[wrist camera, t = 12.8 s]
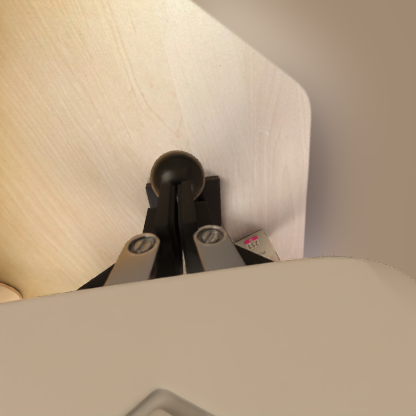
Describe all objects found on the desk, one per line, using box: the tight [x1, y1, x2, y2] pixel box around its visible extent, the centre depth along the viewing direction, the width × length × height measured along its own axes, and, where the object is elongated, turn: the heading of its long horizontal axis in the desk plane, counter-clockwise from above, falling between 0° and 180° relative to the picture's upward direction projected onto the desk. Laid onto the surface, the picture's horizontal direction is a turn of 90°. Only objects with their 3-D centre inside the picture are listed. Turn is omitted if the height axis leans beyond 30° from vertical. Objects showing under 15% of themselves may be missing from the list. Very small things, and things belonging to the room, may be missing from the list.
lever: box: [150, 150, 205, 276], centre depth 16 cm, size 13×4×4 cm, turn 4°
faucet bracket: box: [146, 176, 221, 227], centre depth 23 cm, size 10×9×13 cm
